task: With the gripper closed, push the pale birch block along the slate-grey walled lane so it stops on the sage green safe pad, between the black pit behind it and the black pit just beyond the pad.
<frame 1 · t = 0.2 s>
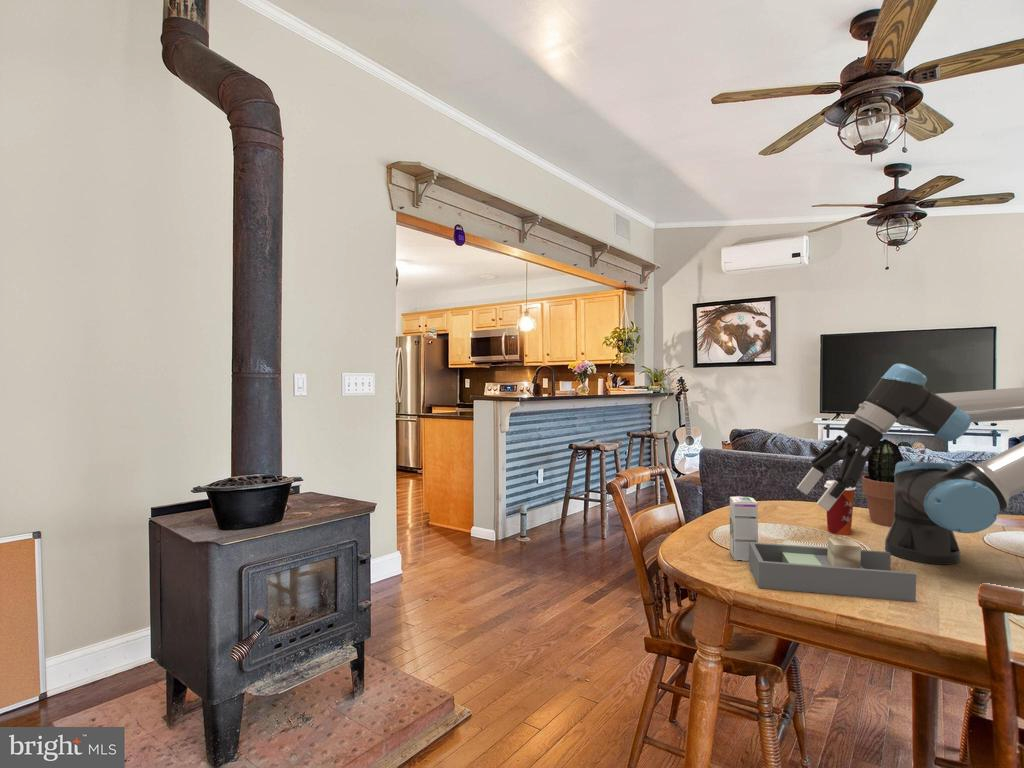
hand: (811, 499, 135), 15 cm above the table, tool tilted 35°, fingers open, 13 cm apart
trap lane: (825, 581, 124), on the table
birch block: (843, 565, 123), point 4 cm above the table, touching trap lane
potted plant: (888, 523, 170), on the table
syrup box: (743, 558, 140), on the table
paper cup: (839, 532, 161), on the table
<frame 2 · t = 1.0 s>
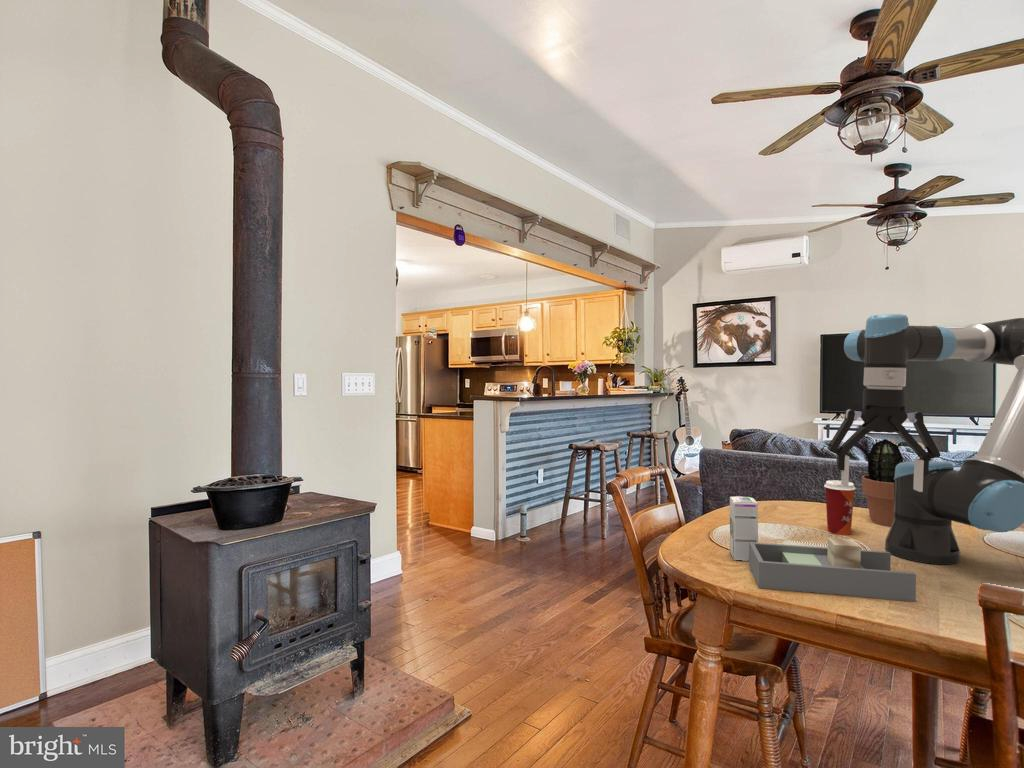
hand: (880, 488, 121), 21 cm above the table, tool pointing down, fingers open, 13 cm apart
nothing on the table moved.
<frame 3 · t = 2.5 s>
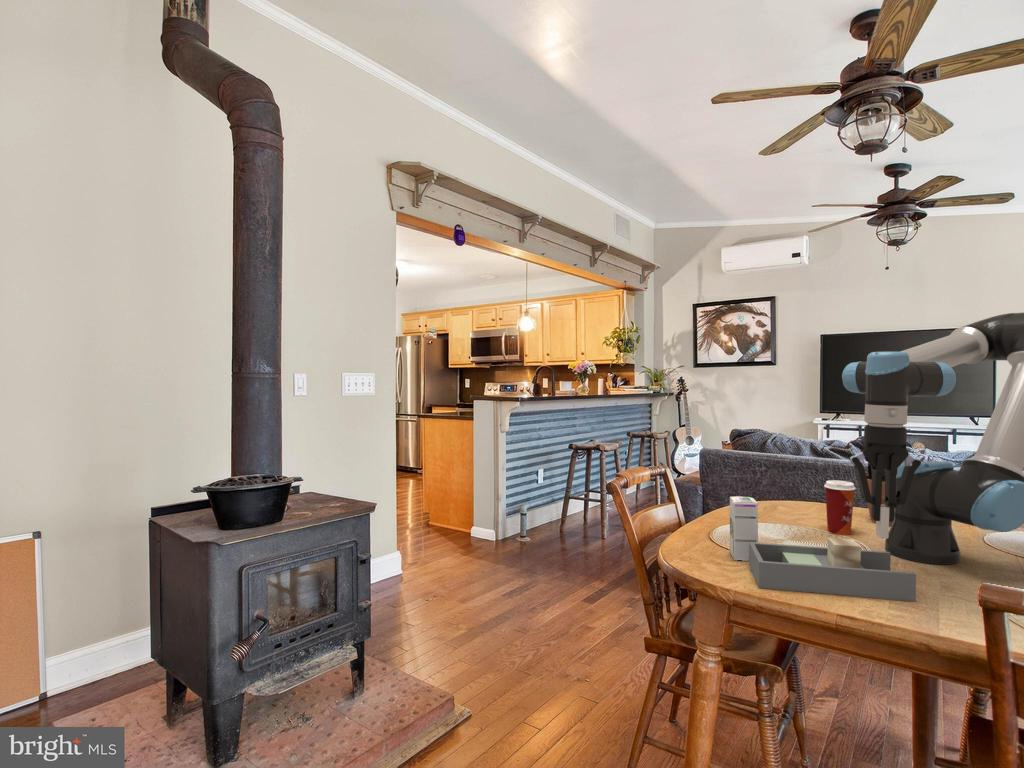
hand: (882, 536, 121), 11 cm above the table, tool pointing down, fingers closed
nothing on the table moved.
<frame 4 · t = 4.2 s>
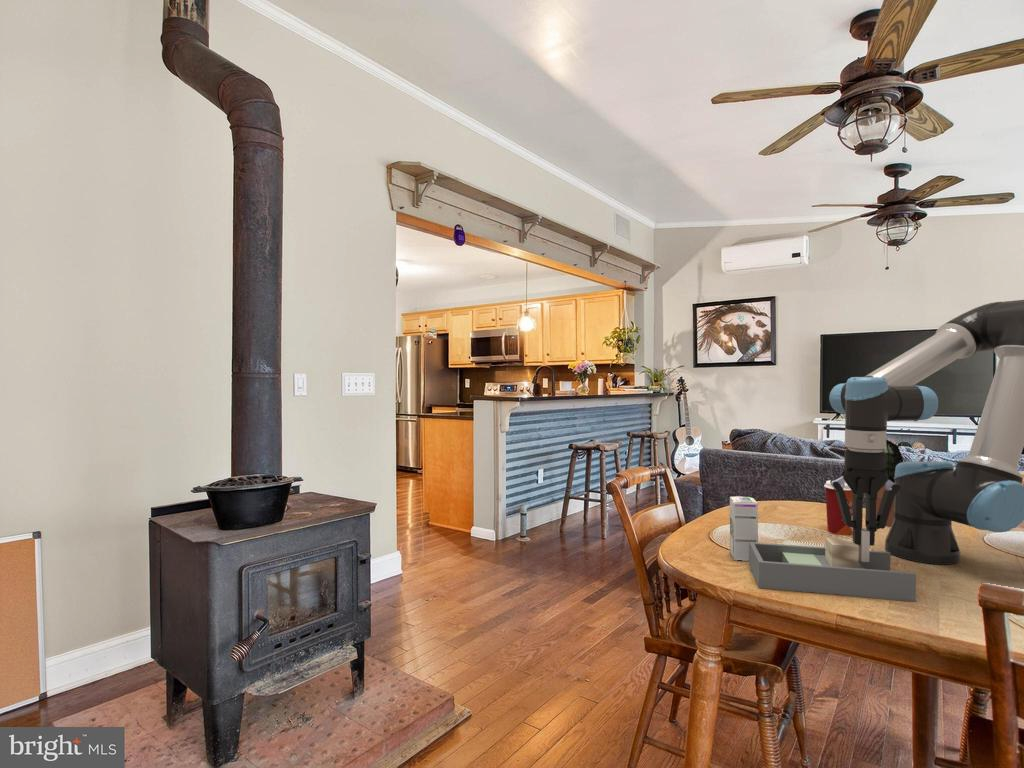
hand: (863, 559, 122), 6 cm above the table, tool pointing down, fingers closed
birch block: (841, 564, 123), point 4 cm above the table, touching gripper
everything else where it was.
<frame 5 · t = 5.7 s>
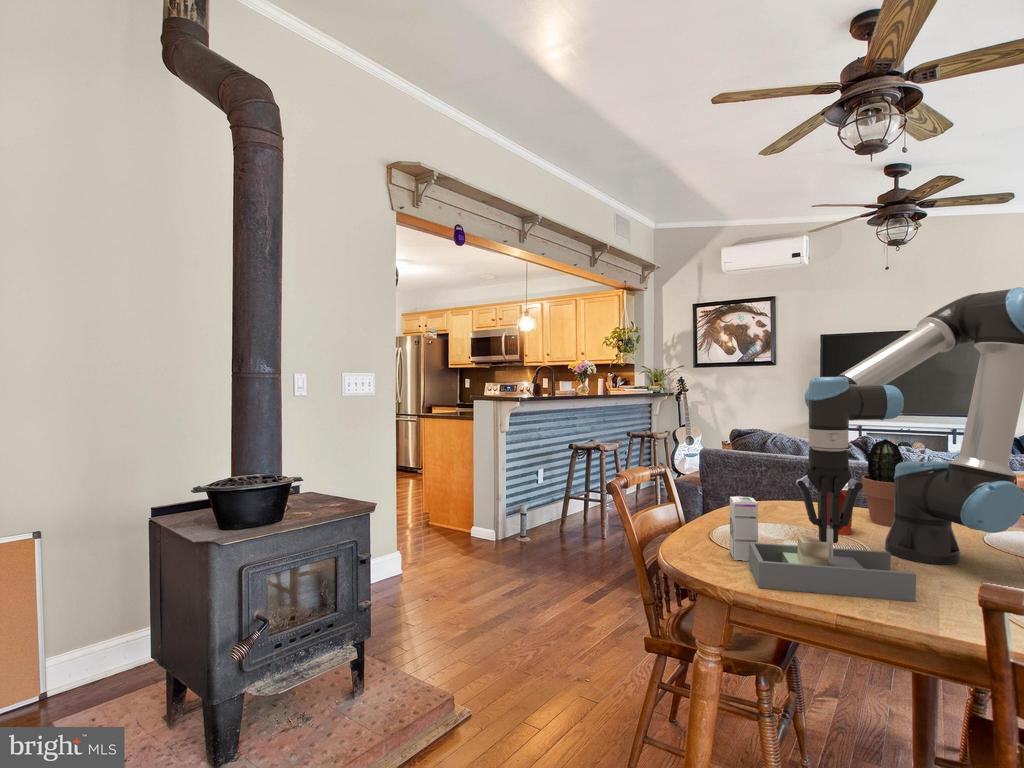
hand: (828, 557, 124), 6 cm above the table, tool pointing down, fingers closed
birch block: (812, 562, 125), point 4 cm above the table, touching gripper, trap lane
everything else where it was.
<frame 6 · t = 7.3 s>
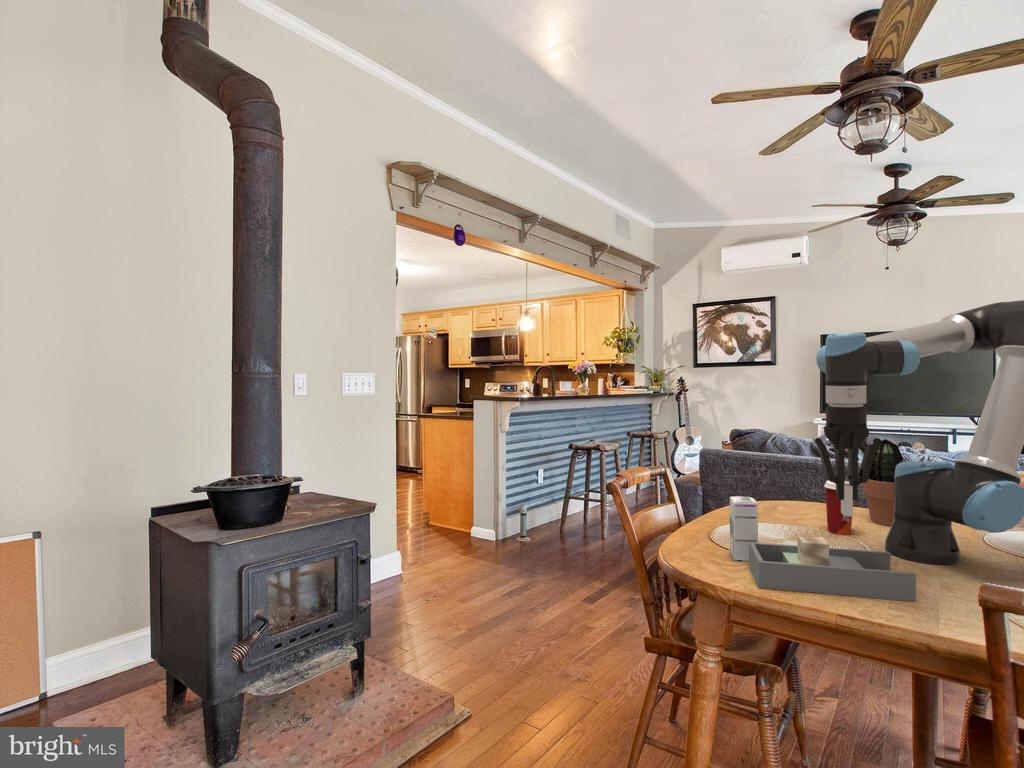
hand: (846, 514, 123), 15 cm above the table, tool pointing down, fingers closed
birch block: (812, 562, 125), point 4 cm above the table, touching trap lane
everything else where it was.
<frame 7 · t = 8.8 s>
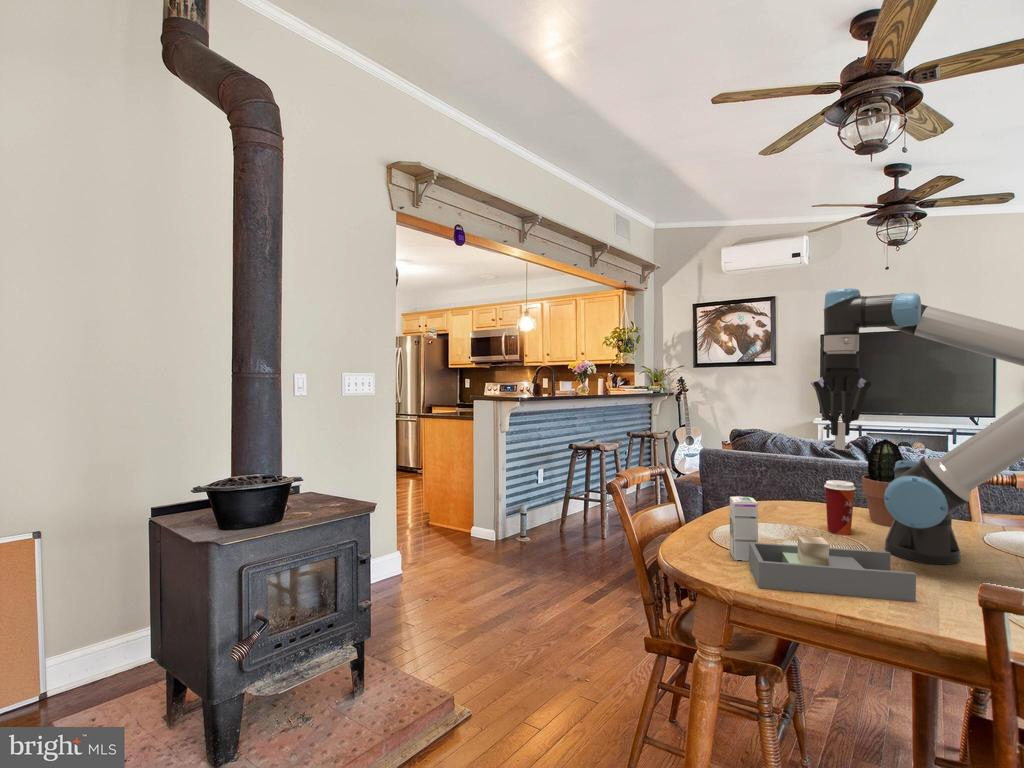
hand: (839, 448, 141), 26 cm above the table, tool pointing down, fingers closed
nothing on the table moved.
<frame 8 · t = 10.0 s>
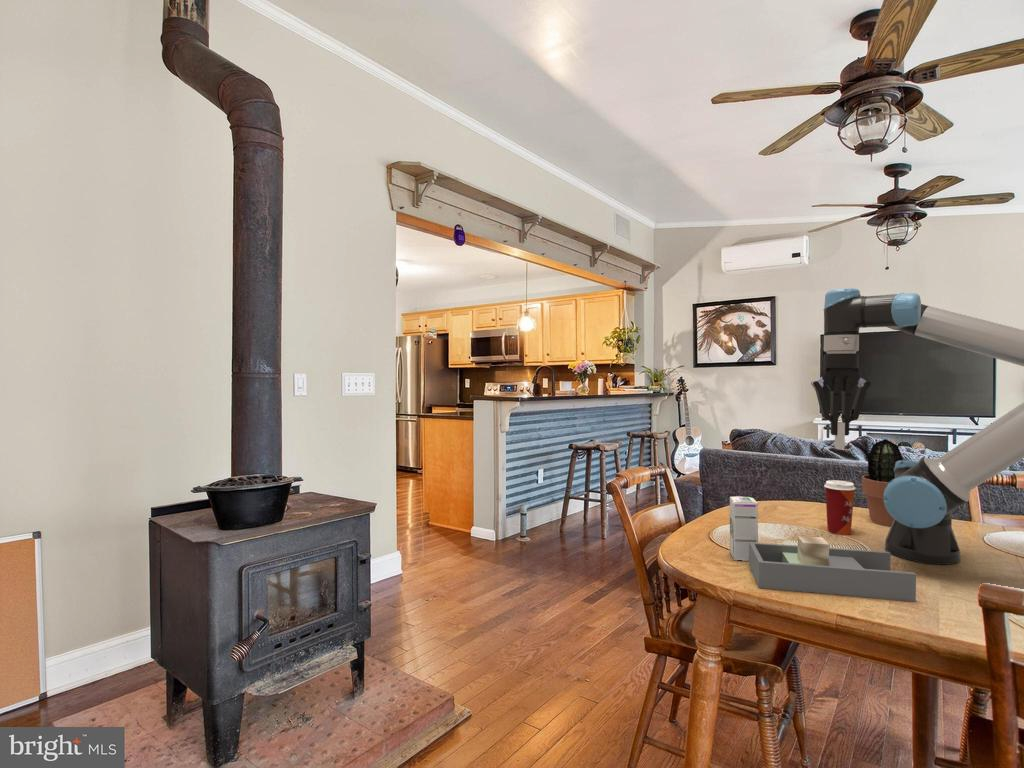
hand: (839, 448, 141), 26 cm above the table, tool pointing down, fingers closed
nothing on the table moved.
at the end: birch block inside the target area on the trap lane (1.6 cm from its centre), point 4.0 cm above the trap lane's base; birch block tilted 0° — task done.
